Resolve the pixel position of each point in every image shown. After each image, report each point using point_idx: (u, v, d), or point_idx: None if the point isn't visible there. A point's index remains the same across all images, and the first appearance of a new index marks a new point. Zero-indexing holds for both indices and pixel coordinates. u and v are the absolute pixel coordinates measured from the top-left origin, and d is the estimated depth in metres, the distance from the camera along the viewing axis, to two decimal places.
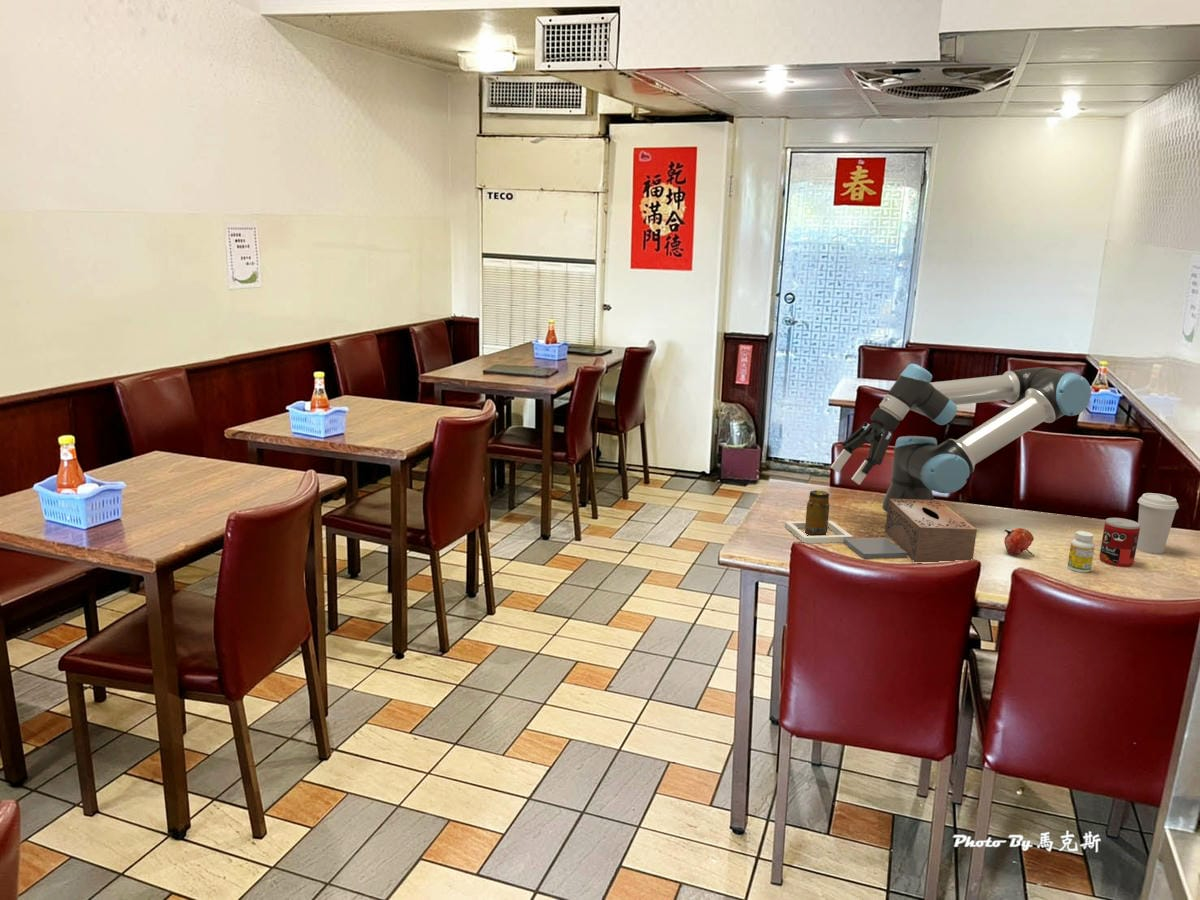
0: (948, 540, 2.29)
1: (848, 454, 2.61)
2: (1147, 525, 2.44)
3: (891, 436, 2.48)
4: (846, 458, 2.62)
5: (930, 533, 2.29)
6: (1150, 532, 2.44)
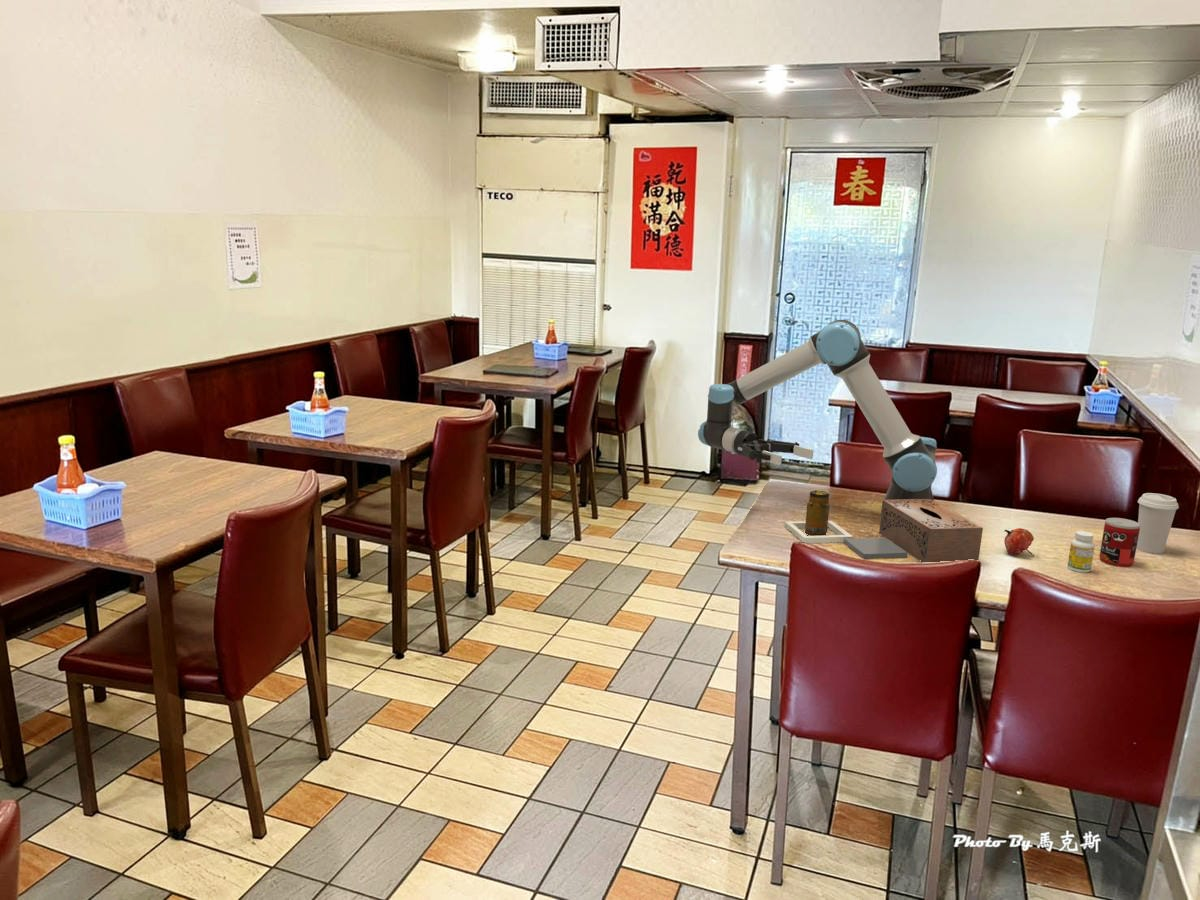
0: (957, 540, 2.30)
1: (795, 448, 2.62)
2: (1147, 525, 2.44)
3: (738, 445, 2.62)
4: (798, 448, 2.61)
5: (940, 534, 2.28)
6: (1150, 532, 2.44)
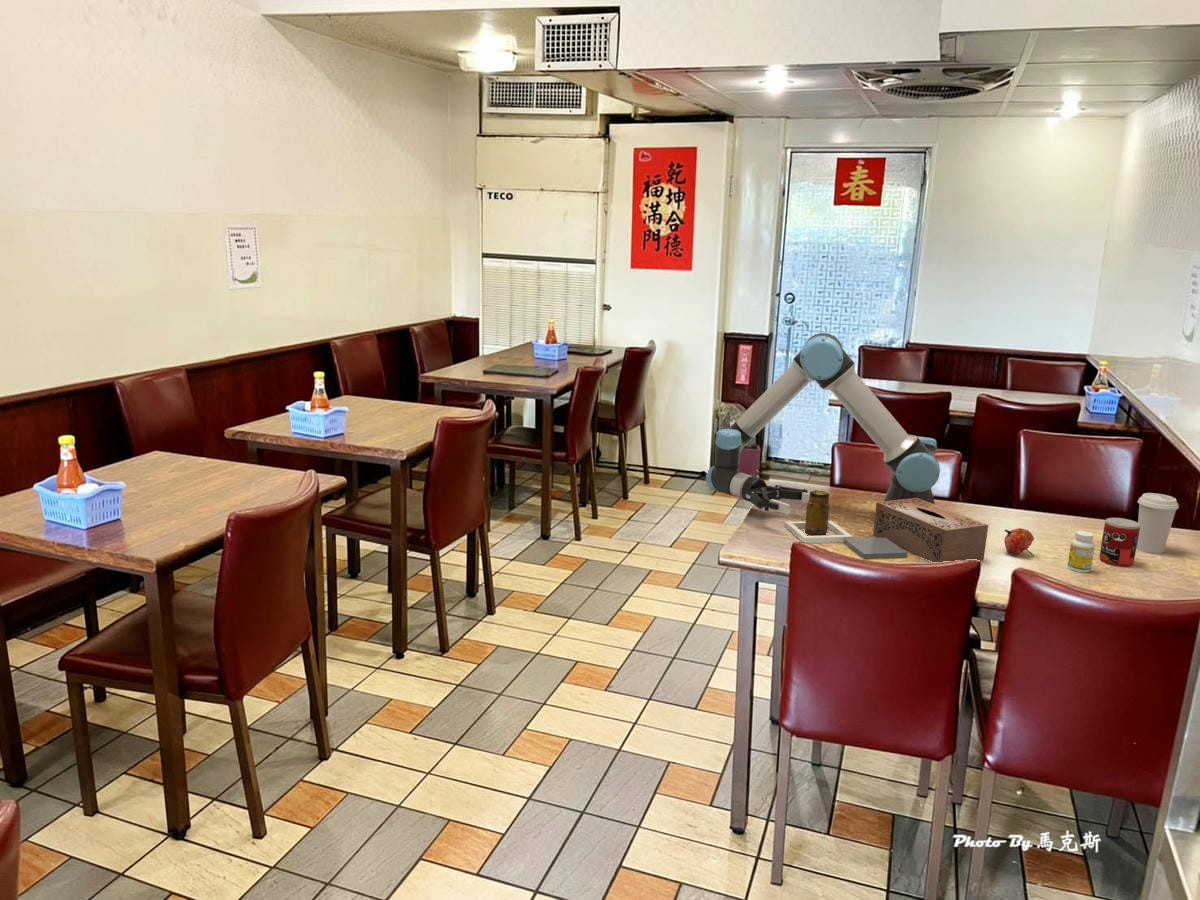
0: (967, 539, 2.31)
1: (803, 495, 2.61)
2: (1147, 525, 2.44)
3: (746, 493, 2.61)
4: (807, 495, 2.60)
5: (953, 534, 2.28)
6: (1150, 532, 2.44)
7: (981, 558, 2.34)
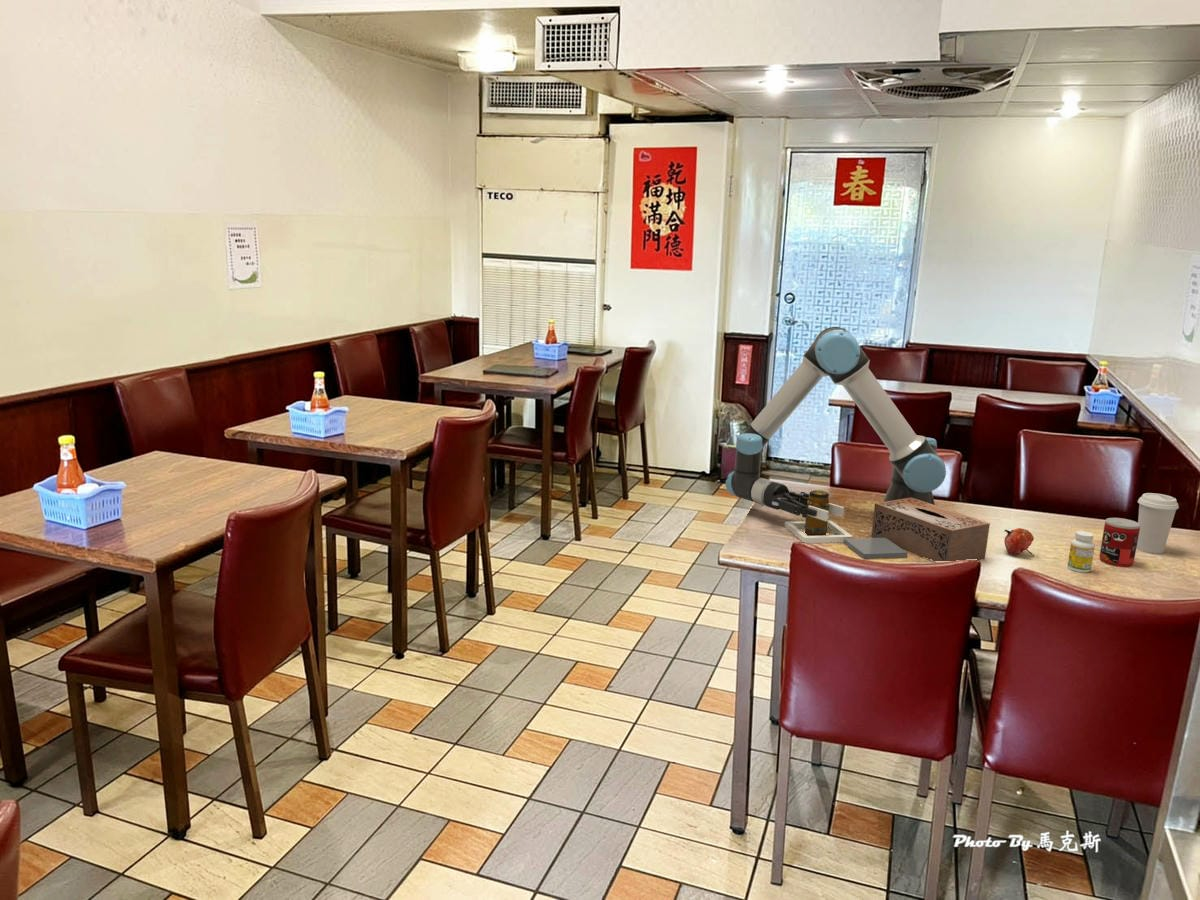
0: (970, 538, 2.31)
1: None
2: (1147, 525, 2.44)
3: (773, 500, 2.54)
4: None
5: (959, 534, 2.29)
6: (1150, 532, 2.44)
7: (983, 556, 2.36)
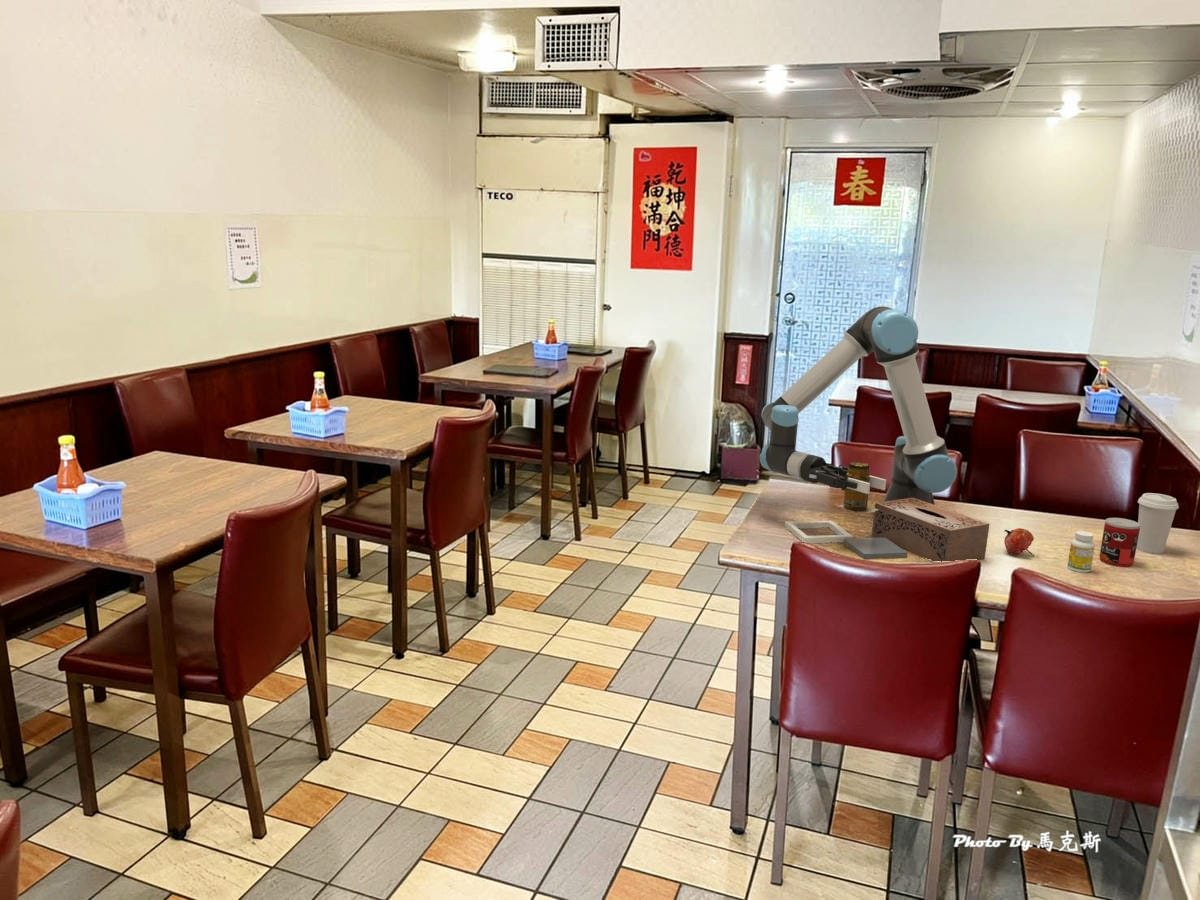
0: (969, 538, 2.31)
1: None
2: (1147, 525, 2.44)
3: (811, 473, 2.43)
4: None
5: (957, 534, 2.28)
6: (1150, 532, 2.44)
7: (982, 557, 2.35)
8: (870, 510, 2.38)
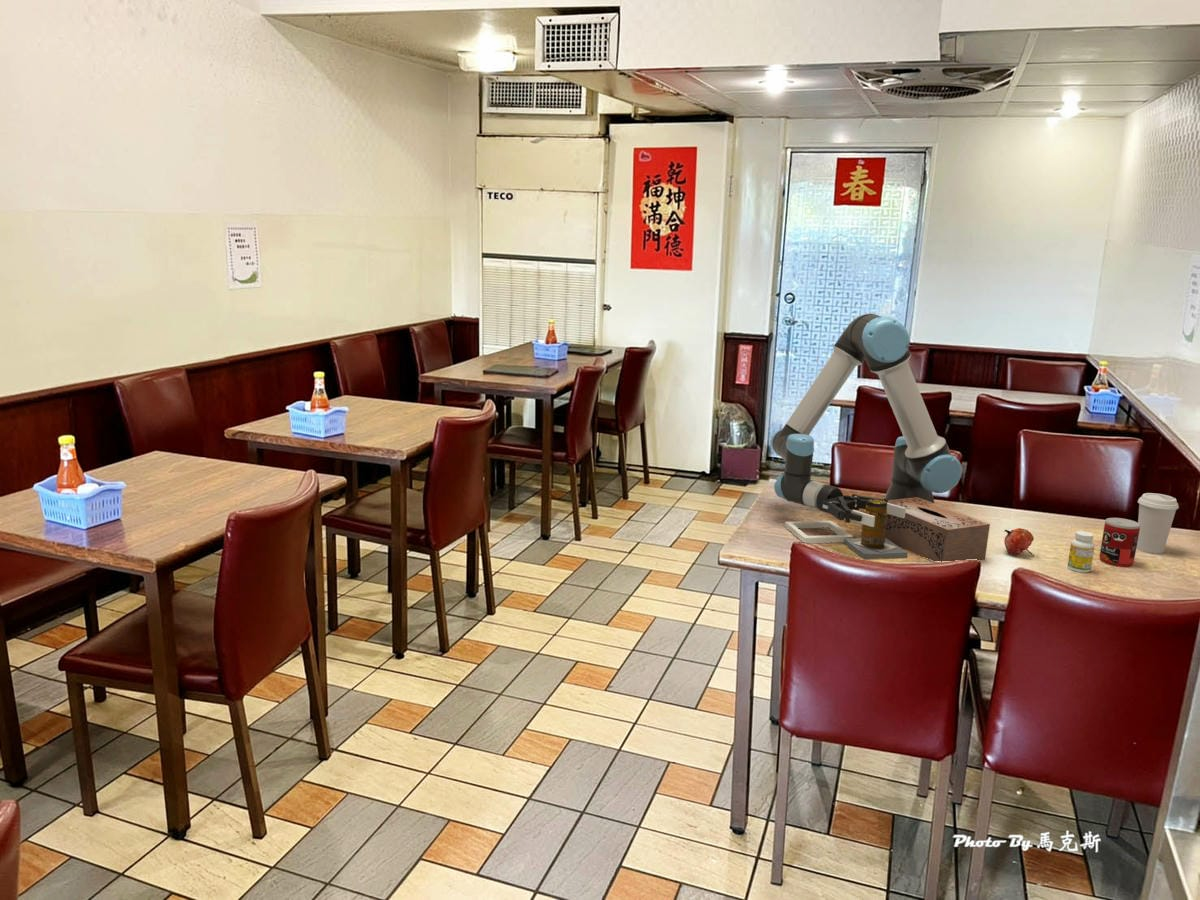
0: (968, 538, 2.31)
1: None
2: (1147, 525, 2.44)
3: (823, 503, 2.43)
4: (888, 506, 2.42)
5: (956, 534, 2.29)
6: (1150, 532, 2.44)
7: (983, 557, 2.35)
8: (888, 547, 2.37)
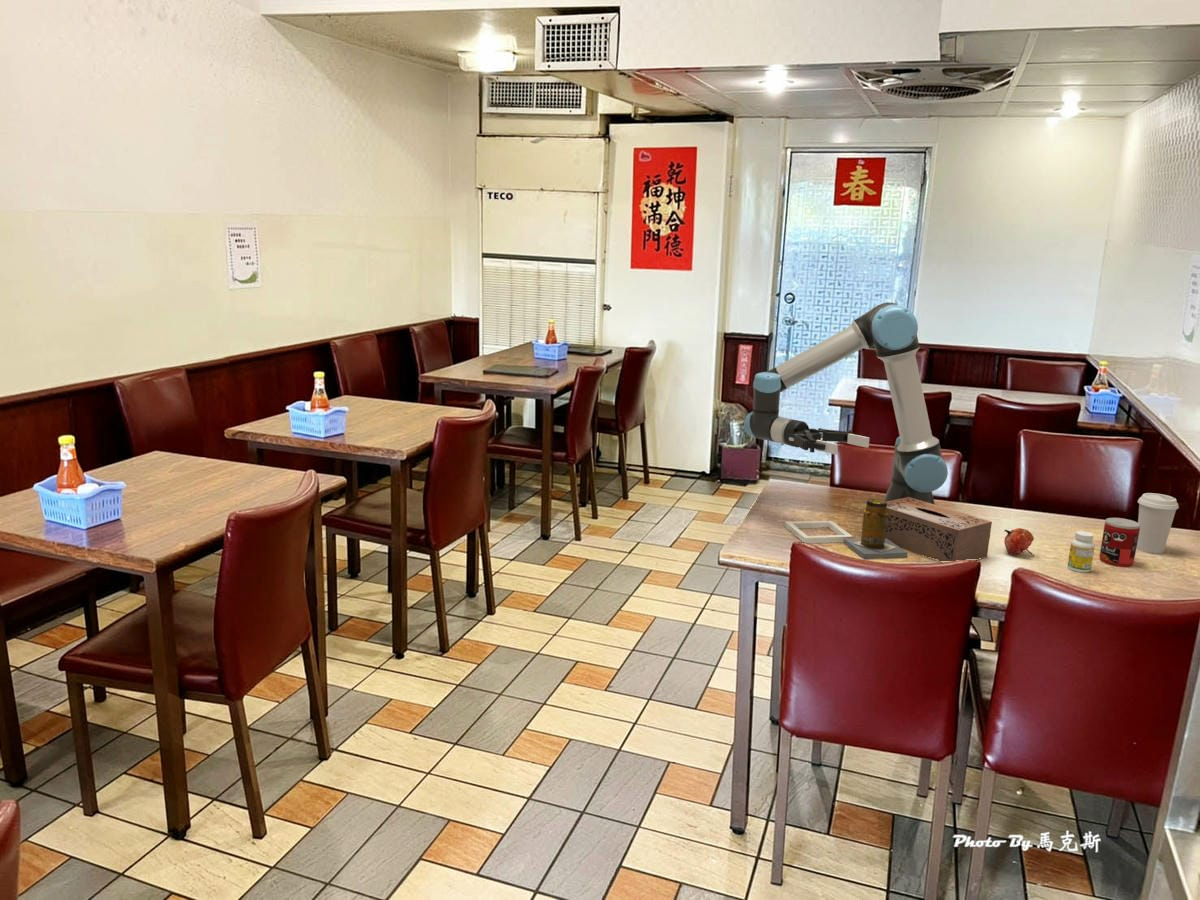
0: (974, 537, 2.32)
1: (849, 436, 2.49)
2: (1147, 525, 2.44)
3: (789, 436, 2.49)
4: (853, 436, 2.48)
5: (964, 533, 2.29)
6: (1150, 532, 2.44)
7: (985, 555, 2.37)
8: (888, 547, 2.37)
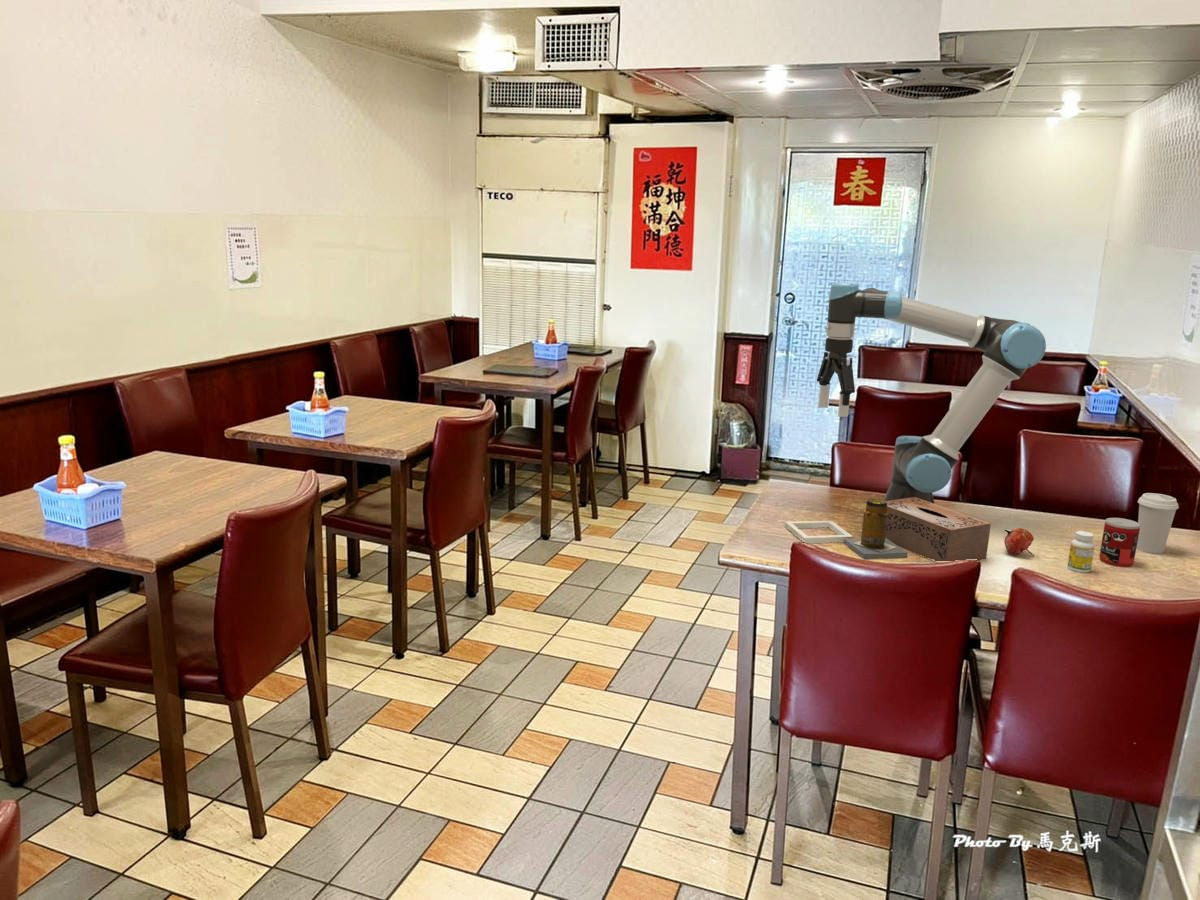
0: (971, 538, 2.32)
1: (827, 387, 2.64)
2: (1147, 525, 2.44)
3: (850, 360, 2.50)
4: (827, 391, 2.65)
5: (958, 534, 2.29)
6: (1150, 532, 2.44)
7: (984, 556, 2.36)
8: (888, 547, 2.37)
